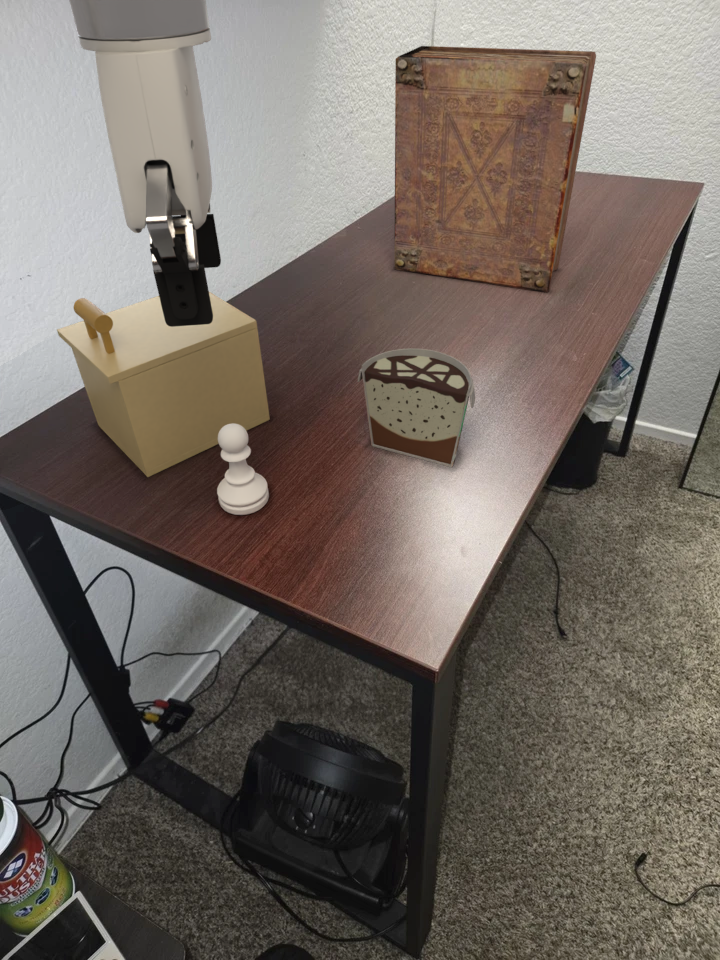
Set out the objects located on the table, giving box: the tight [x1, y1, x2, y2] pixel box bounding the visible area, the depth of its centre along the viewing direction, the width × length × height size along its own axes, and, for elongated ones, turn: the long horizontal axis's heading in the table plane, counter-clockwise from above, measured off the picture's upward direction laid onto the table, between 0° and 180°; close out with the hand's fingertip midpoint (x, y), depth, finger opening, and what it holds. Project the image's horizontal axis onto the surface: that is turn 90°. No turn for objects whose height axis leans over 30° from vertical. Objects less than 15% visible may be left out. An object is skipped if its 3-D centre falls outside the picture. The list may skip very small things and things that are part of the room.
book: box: [393, 45, 597, 294], centre depth 98 cm, size 25×9×30 cm, turn 67°
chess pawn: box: [216, 423, 270, 516], centre depth 63 cm, size 5×5×9 cm
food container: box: [357, 348, 476, 468], centre depth 70 cm, size 12×6×10 cm, turn 65°
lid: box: [56, 291, 258, 384], centre depth 67 cm, size 16×13×5 cm
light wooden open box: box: [71, 327, 271, 478], centre depth 73 cm, size 16×13×12 cm
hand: (196, 293), depth 49 cm, fingers open, 9 cm apart
